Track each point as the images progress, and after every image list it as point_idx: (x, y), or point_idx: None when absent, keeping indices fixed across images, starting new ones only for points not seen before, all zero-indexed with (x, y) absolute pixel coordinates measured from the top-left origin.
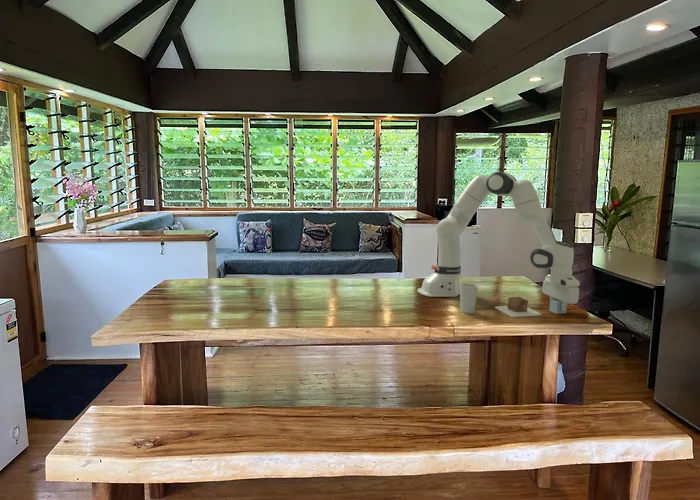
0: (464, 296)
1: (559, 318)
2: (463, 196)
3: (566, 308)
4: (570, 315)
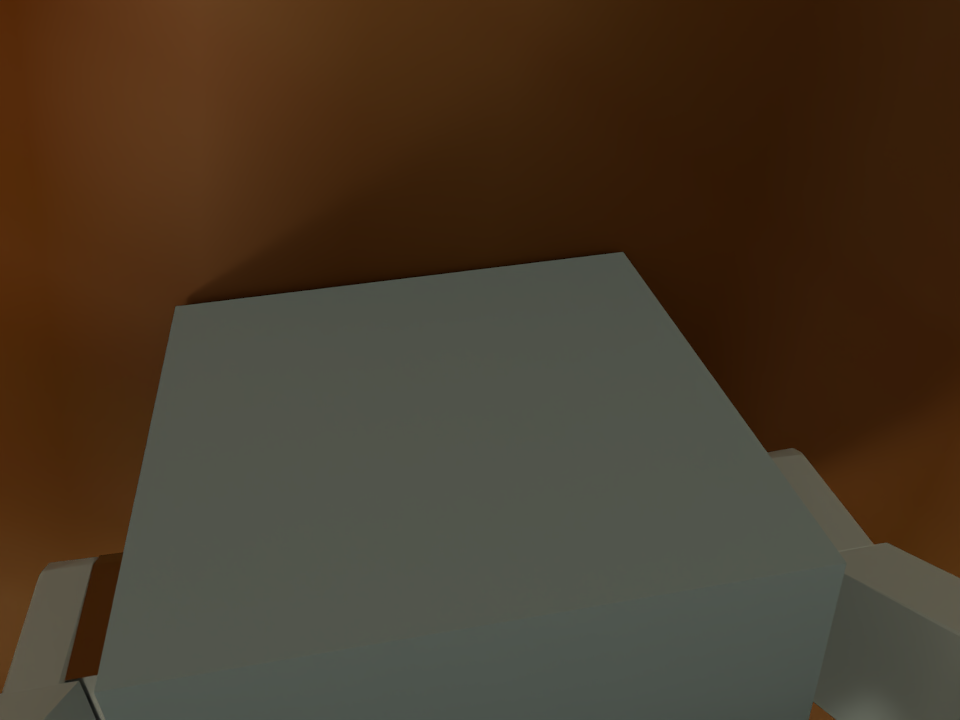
0: None
1: None
2: None
3: (695, 357)
4: (866, 232)
